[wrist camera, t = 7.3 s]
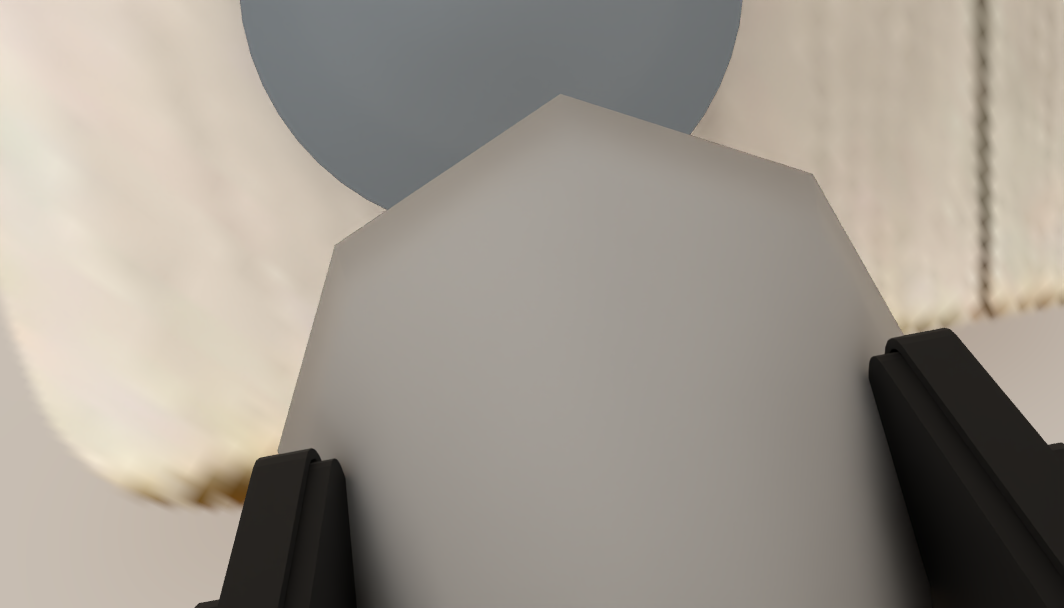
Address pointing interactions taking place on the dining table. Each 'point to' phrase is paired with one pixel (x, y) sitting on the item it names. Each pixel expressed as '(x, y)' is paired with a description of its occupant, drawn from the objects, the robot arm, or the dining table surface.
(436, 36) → the slate dish
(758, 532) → the flask
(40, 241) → the dining table surface
